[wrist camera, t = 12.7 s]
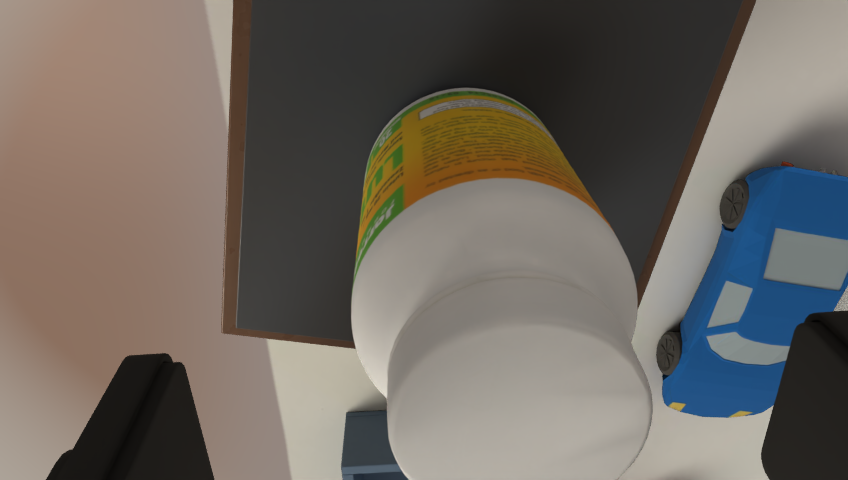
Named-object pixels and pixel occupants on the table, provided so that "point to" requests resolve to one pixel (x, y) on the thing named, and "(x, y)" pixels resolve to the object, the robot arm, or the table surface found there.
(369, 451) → the storage bin
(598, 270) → the supplement bottle
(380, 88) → the stand
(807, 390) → the robot arm
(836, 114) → the table surface
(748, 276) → the toy car
